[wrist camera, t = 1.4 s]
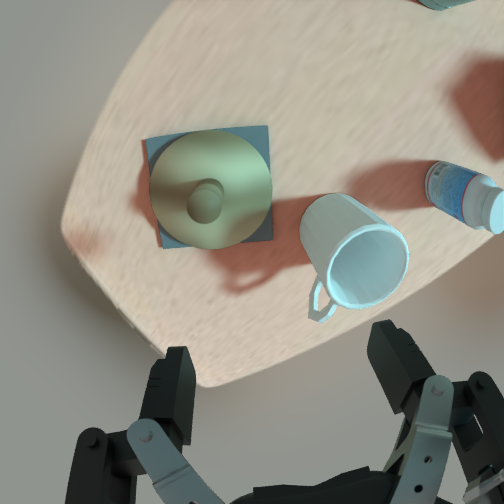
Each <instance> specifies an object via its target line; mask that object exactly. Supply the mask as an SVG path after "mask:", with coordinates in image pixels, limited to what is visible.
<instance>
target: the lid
mask: <svg viewBox="0 0 504 504" xmlns="http://www.w3.org/2000/svg"><path fill="white" fill-rule="evenodd" d="M149 192H150V201H151V205H152V208H153V211H154V213H155V215H156V217H157V219H158V221H159V222H160V224H161V225H162V226H163V228H164V229H165V230H166V231H167V232H168V233H169V234H171V235H172V236H173V237H174V238H176V239H177V240H179V241H181V242H183V243H185V244H187V245H190V246H192V247H196V248H201V249H221V248H226V247H230V246H233V245H235V244H238V243H240V242H241V241H243V240H245V239H246V238H248V237H249V236H250V235H252V234H253V233H254V232H255V231H256V230H257V229H258V227H259V226H260V225H261V224H262V222H263V221H264V219H265V217H266V215H267V213H268V211H269V207H270V204H271V199H272V180H271V176H270V172H269V170H268V167H267V165H266V163H265V161H264V159H263V158H262V156H261V155H260V154H259V152H258V151H257V150H256V149H255V148H254V147H253V146H252V145H251V144H250V143H248V142H247V141H246V140H244V139H243V138H241V137H239V136H237V135H235V134H232V133H229V132H225V131H220V130H203V131H198V132H194V133H191V134H188V135H185V136H183V137H181V138H179V139H178V140H176V141H175V142H173V143H172V144H171V145H170V146H169V147H167V148H166V149H165V151H164V152H163V153H162V154H161V156H160V157H159V159H158V160H157V162H156V164H155V166H154V168H153V171H152V174H151V179H150V189H149Z"/></svg>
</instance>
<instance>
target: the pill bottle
mask: <svg viewBox="0 0 504 504" xmlns="http://www.w3.org/2000/svg"><path fill="white" fill-rule="evenodd" d="M425 192H426V196H427V199H428V201H429V202H430V203H431V204H432V205H433V206H435V207H436V208H438V209H440V210H442V211H444V212H445V213H447V214H449V215H451V216H453V217H454V218H456V219H458V220H459V221H461V222H463V223H465V224H466V225H468V226H470V227H471V228H474V229H483V228H485V229H486V230H488V231H490V232H492V233H494V234H499V233H501V232H502V231H503V230H504V189H502V188H500V187H497V186H496V184H495V182H494V181H493V180H492V179H491V178H490V177H488V176H486V175H484V174H481V173H478V172H476V171H473V170H470V169H467V168H464V167H461V166H458V165H455V164H452V163H449V162H445V161H440V162H437V163H435V164H434V165H433V166H432V167H431V168H430V169H429V171H428V172H427V175H426V178H425Z"/></svg>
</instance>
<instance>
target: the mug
mask: <svg viewBox="0 0 504 504" xmlns="http://www.w3.org/2000/svg"><path fill="white" fill-rule="evenodd" d="M299 232H300V240H301V242H302V244H303V247H304V249H305V251H306V253H307V255H308V257H309V259H310V260H311V262H312V264H313V266H314V268H315V270H316V272H317V274H318V275H317V277H316V279H315V281H314V284H313V286H312V289H311V292H310V294H309V312H308V318H309V319H312V320H315V321H317V322H320V323H323V322H324V321H326V320H327V319H329V318H330V317H331V316H332V315H333V313H334V311H335V309H336V307H337V306H338V305H340V306H342V307H344V308H347V309H363V308H367V307H371V306H374V305H375V304H377V303H379V302H381V301H383V300H385V299H386V298H387V297H388V296H389V295H390V294H392V293H393V292H394V291H395V289H396V288H397V287H398V285H399V284H400V283H401V281H402V280H403V277H404V275H405V273H406V270H407V267H408V260H409V252H408V247H407V243H406V241H405V239H404V238H403V236H402V234H401V233H400V232H399V231H397V230H396V229H395V228H393V227H392V226H391V225H390V224H388V223H387V222H386V221H384V220H383V219H382V218H380V217H379V216H378V215H376V214H375V213H374V212H372V211H371V210H369V209H368V208H367V207H365V206H364V205H363V204H361V203H360V202H358V201H357V200H355V199H354V198H352V197H351V196H349V195H345V194H341V193H334V194H327V195H325V196H323V197H320V198H318V199H316V200H315V201H314V202H313V203H312V204H311V205H310V206H309V207H308V208H307V209H306V211H305V213H304V215H303V216H302V219H301V223H300V227H299ZM322 284H323V286H324V288H325V290H326V292H327V294H328V296H329V297H330V298H331V300H330V301H329V303H328V305H327V306H326V307H325V308H323V309H322V310H321V311H320V312H319V311H318V294H319V291H320V288H321V286H322Z"/></svg>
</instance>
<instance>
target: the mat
mask: <svg viewBox="0 0 504 504" xmlns="http://www.w3.org/2000/svg"><path fill="white" fill-rule="evenodd" d="M212 130H220V131H225V132H229V133H232V134H235V135H237V136H239V137H241V138H243V139H244V140H246V141H247V142H248V143H250V144H251V145H252V146H253V147H254V148H255V149H256V150H257V151H258V152H259V154H260V155H261V156H262V158H263V159H264V161H265V163H266V165H267V167H268V170H269V172H270V157H269V137H268V126H249V127H234V128H222V129H212ZM194 132H198V131H194ZM194 132H187V133H179V134H173V135H166V136H160V137H154V138H149V139H146V147H147V155H148V163H149V170H150V177H151V174H152V171H153V168H154V166H155V164H156V162H157V160H158V159H159V157H160V156H161V154H162V153H163V152H164V151H165V149H166V148H167V147H169V146H170V145H171V144H172V143H173V142H175V141H176V140H178V139H179V138H181V137H183V136H185V135H188V134H191V133H194ZM157 220H158V219H157ZM158 226H159V231H160V236H161V241H162V246H163V249H169V248H180V247H192V246H190V245H187V244H185V243H183V242H181V241H179V240H177V239H176V238H174V237H173V236H172V235H171V234H169V233H168V232H167V231H166V230H165V229H164V228H163V226H162V225H161V224H160V222H159V221H158ZM267 240H273V229H272V202H271V204H270V207H269V211H268V213H267V215H266V217H265V219H264V221H263V222H262V224H261V225H260V226H259V227H258V229H257V230H256V231H255V232H254V233H253V234H252V235H250V236H249V237H248V238H246V239H245V240H243V241H241V242H240V243H242V242H254V241H267Z"/></svg>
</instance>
